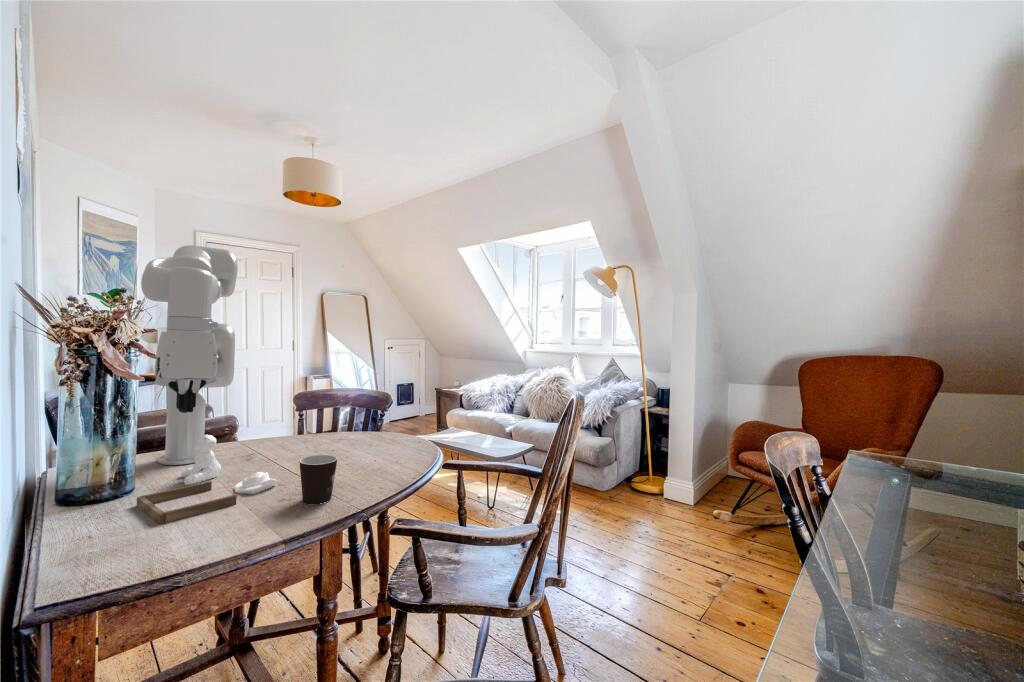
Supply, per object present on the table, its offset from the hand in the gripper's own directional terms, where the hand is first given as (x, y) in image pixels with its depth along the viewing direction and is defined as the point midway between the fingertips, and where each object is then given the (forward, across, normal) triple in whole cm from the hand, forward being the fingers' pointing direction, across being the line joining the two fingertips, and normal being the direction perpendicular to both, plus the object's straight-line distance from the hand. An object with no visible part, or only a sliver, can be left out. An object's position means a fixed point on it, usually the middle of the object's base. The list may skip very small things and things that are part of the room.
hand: (185, 411), depth 92 cm
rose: (+24, -19, -8) cm, 31 cm away
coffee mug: (+23, -26, +10) cm, 36 cm away
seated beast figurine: (+23, -13, -26) cm, 37 cm away
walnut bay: (+23, -4, -8) cm, 25 cm away
